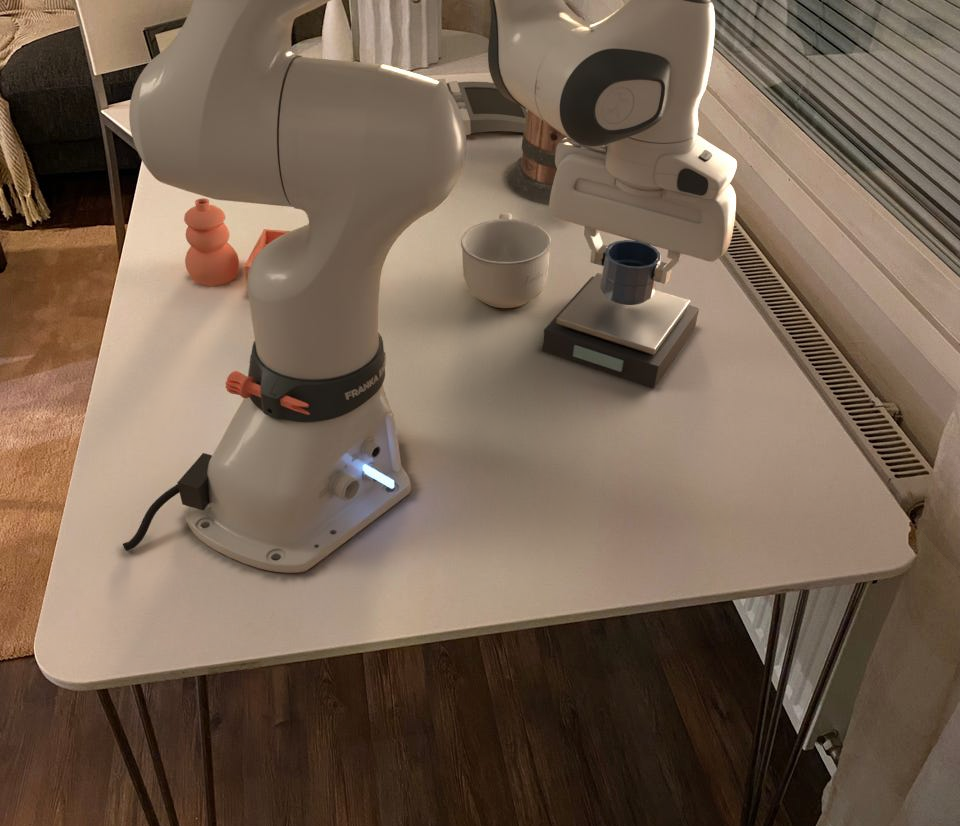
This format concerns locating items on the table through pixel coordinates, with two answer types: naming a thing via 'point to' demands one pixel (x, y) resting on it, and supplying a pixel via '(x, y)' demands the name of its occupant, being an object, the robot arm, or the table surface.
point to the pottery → (215, 246)
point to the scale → (618, 349)
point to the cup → (629, 272)
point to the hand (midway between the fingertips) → (629, 271)
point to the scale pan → (624, 317)
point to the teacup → (505, 261)
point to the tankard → (536, 161)
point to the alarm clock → (486, 107)
